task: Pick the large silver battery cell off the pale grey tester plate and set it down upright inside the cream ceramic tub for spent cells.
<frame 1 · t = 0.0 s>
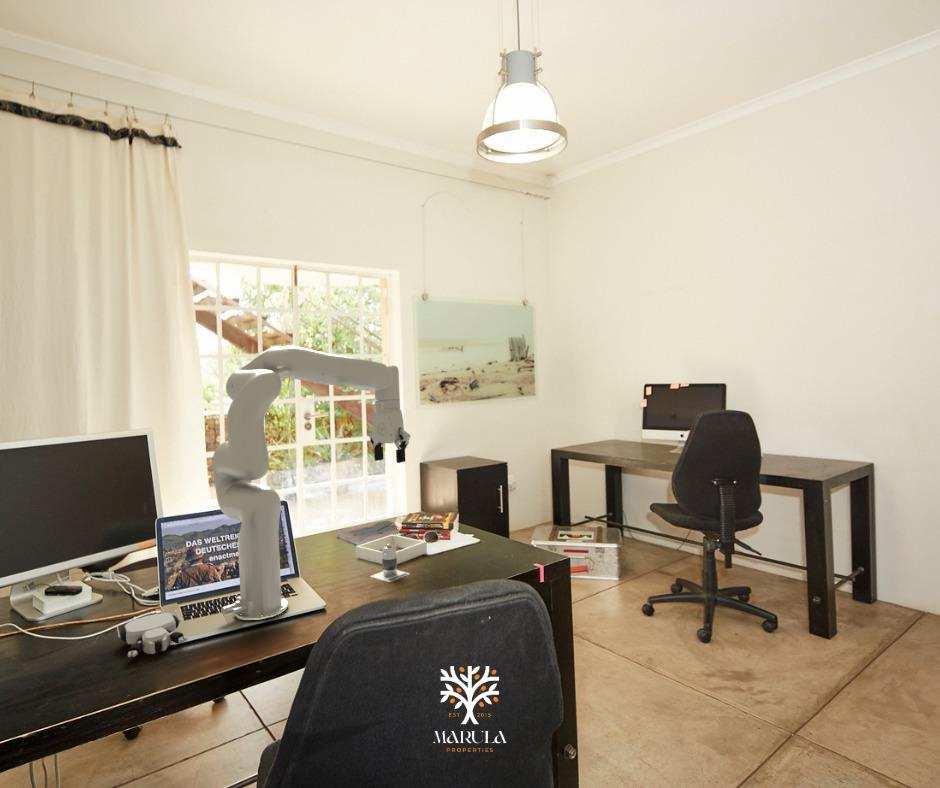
hand: (389, 461, 177), 31 cm above the table, tool pointing down, fingers open, 9 cm apart
robot toy: (153, 646, 127), on the table
cell: (390, 574, 164), point 1 cm above the table, touching tester plate
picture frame: (374, 537, 209), on the table
tester plate: (390, 578, 164), on the table
tub: (391, 558, 182), on the table
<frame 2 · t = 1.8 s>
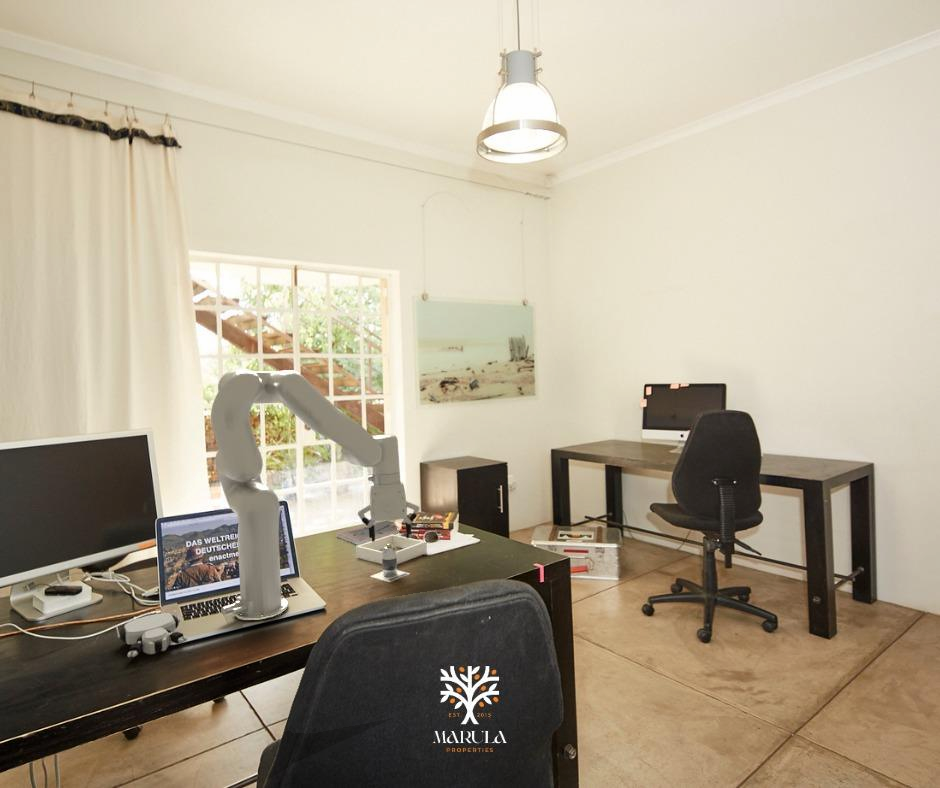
hand: (390, 538, 164), 11 cm above the table, tool pointing down, fingers open, 9 cm apart
nothing on the table moved.
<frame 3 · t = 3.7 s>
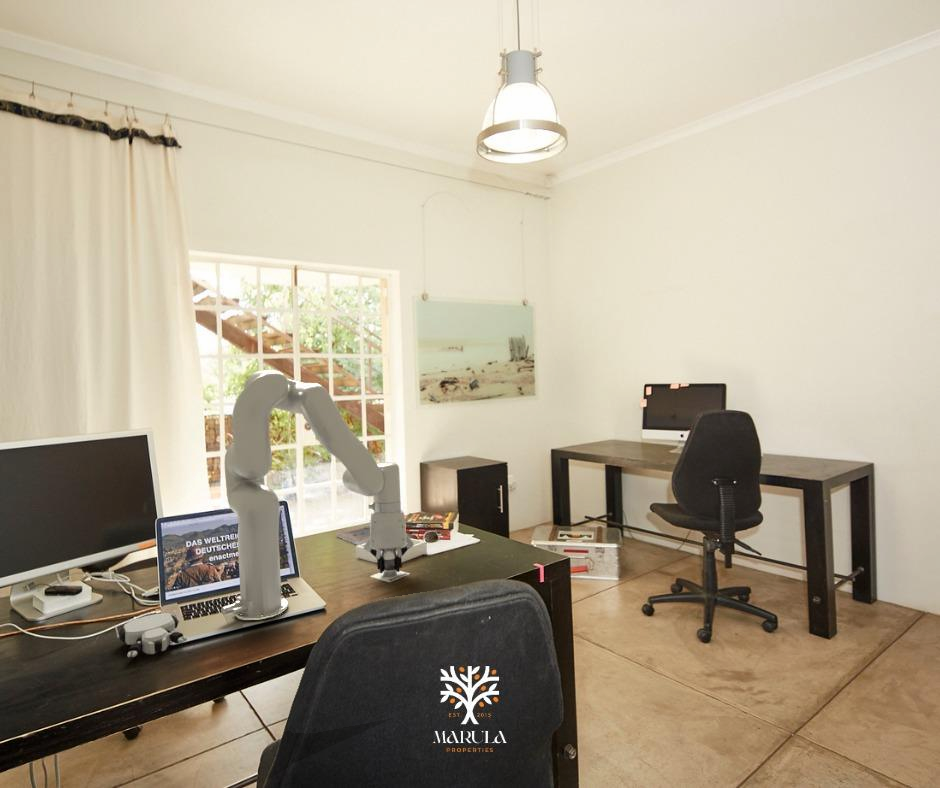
hand: (389, 570, 164), 2 cm above the table, tool pointing down, fingers closed on cell, 4 cm apart
cell: (390, 574, 164), point 1 cm above the table, touching gripper, tester plate
everything else where it was.
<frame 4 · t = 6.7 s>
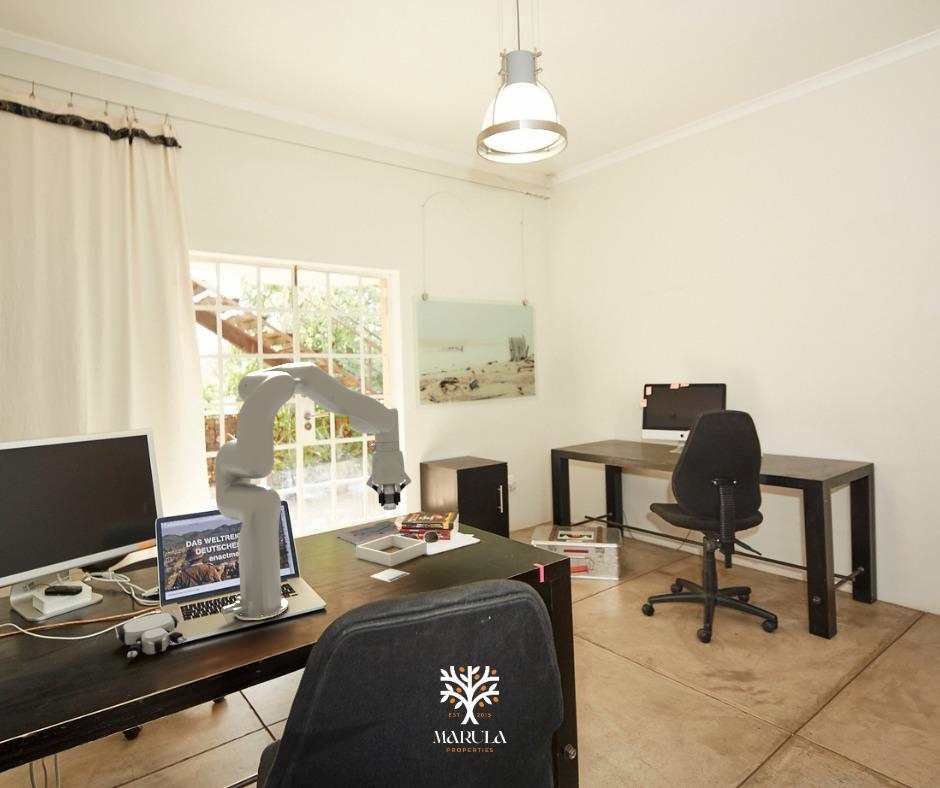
hand: (389, 504, 181), 17 cm above the table, tool pointing down, fingers closed on cell, 4 cm apart
cell: (389, 508, 181), point 16 cm above the table, touching gripper
everything else where it was.
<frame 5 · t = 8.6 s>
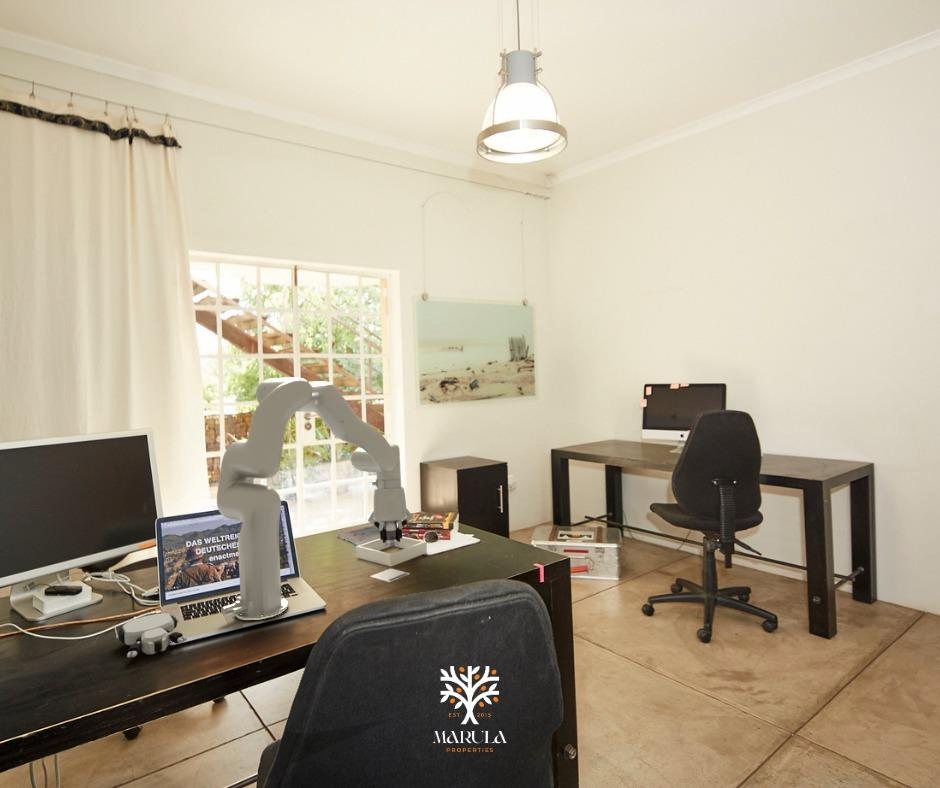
hand: (391, 540, 182), 5 cm above the table, tool pointing down, fingers closed on cell, 4 cm apart
cell: (391, 544, 182), point 4 cm above the table, touching gripper
everything else where it was.
when the fingers open (3 cm above the table, at t = 9.8 s): cell drops 1 cm, resting on tub.
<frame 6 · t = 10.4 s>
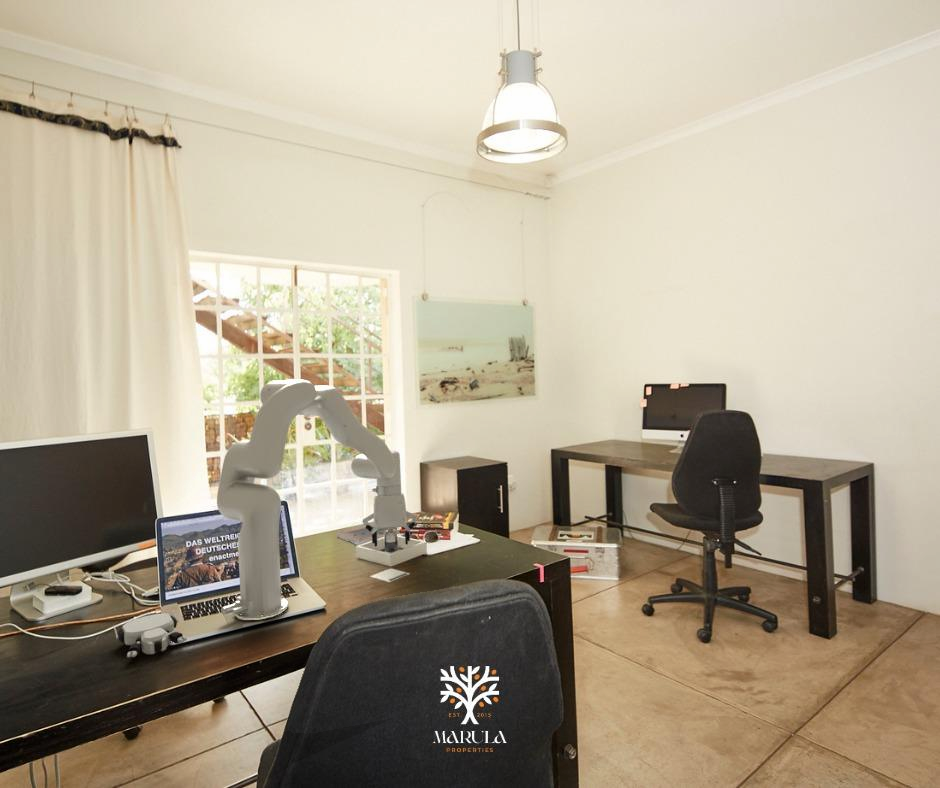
hand: (391, 544, 182), 4 cm above the table, tool pointing down, fingers open, 9 cm apart
cell: (391, 556, 182), point 1 cm above the table, touching tub
everything else where it was.
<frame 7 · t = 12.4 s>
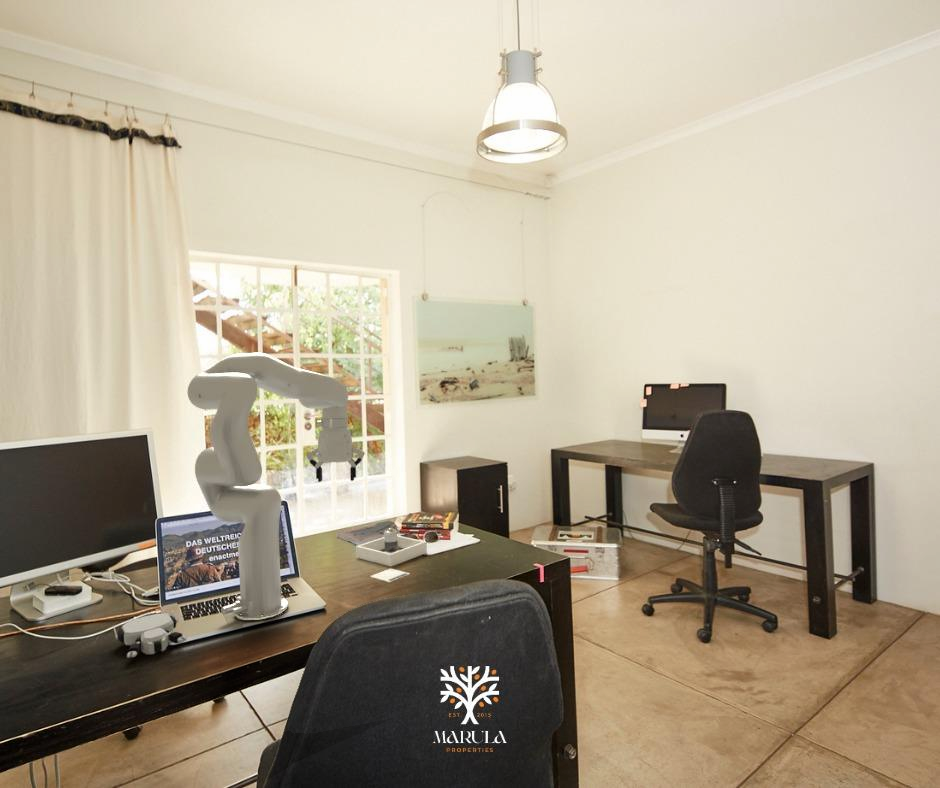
hand: (336, 480, 175), 26 cm above the table, tool pointing down, fingers open, 9 cm apart
nothing on the table moved.
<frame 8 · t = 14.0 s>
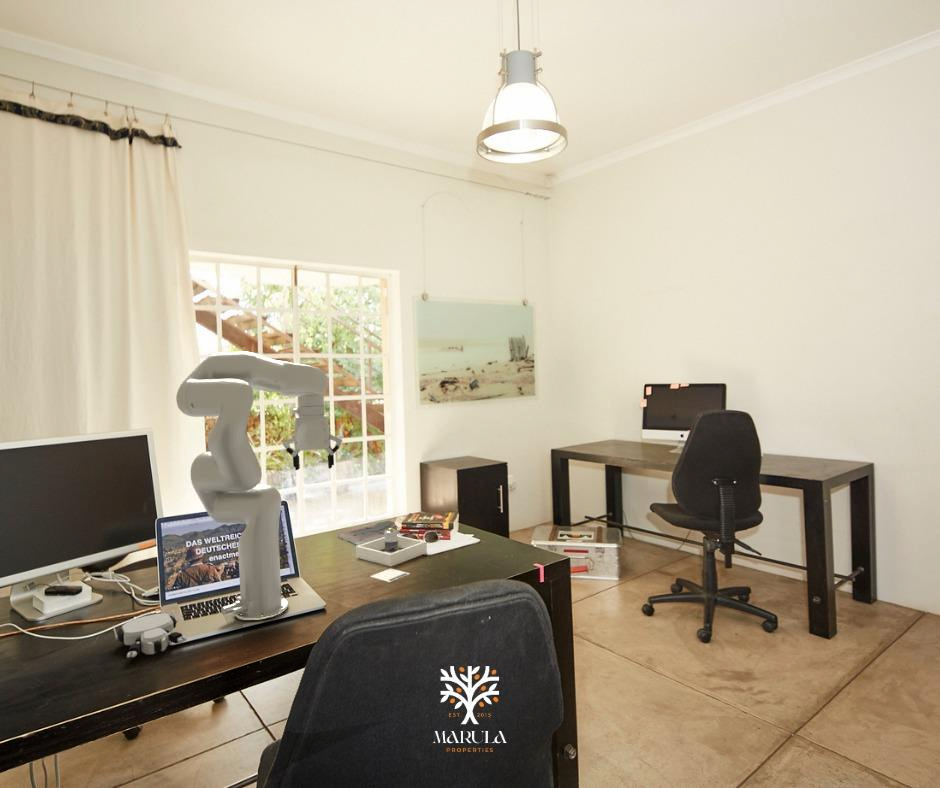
hand: (314, 468, 174), 30 cm above the table, tool pointing down, fingers open, 9 cm apart
nothing on the table moved.
at the end: cell inside the target area on the tub (0.1 cm from its centre), point 0.6 cm above the tub's base; cell tilted 1°; the gripper is holding nothing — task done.
